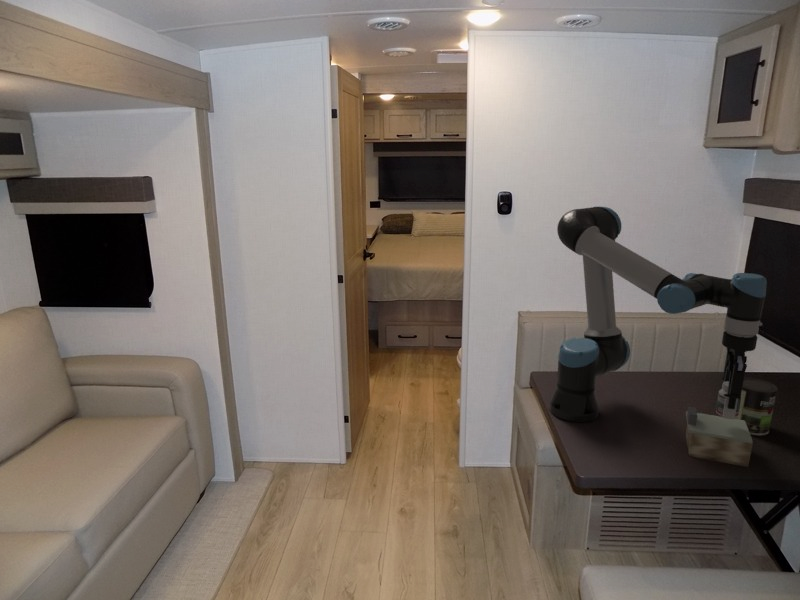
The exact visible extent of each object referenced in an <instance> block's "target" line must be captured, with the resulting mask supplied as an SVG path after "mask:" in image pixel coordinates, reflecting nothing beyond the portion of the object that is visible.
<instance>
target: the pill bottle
mask: <svg viewBox="0 0 800 600" xmlns="http://www.w3.org/2000/svg"><path fill="white" fill-rule="evenodd" d="M728 385H729V381H726V382H723V381H722V386H721V389H720V390H718V395H717V400H716V408H715V413H716V414H717V416H720V417H722V416H723V410H724V404H725V398H726V396H724V394H727V393H728ZM722 388H723V389H722ZM740 403H741V398H740V399H738V403H737V408H736V414H735V418H736V417H738V415H739V409H740Z"/></svg>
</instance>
